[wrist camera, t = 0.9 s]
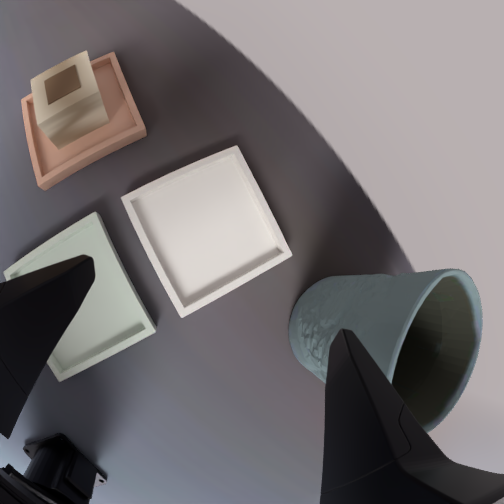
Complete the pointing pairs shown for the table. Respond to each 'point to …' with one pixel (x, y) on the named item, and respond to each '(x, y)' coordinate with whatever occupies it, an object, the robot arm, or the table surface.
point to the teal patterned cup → (398, 332)
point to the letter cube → (68, 101)
